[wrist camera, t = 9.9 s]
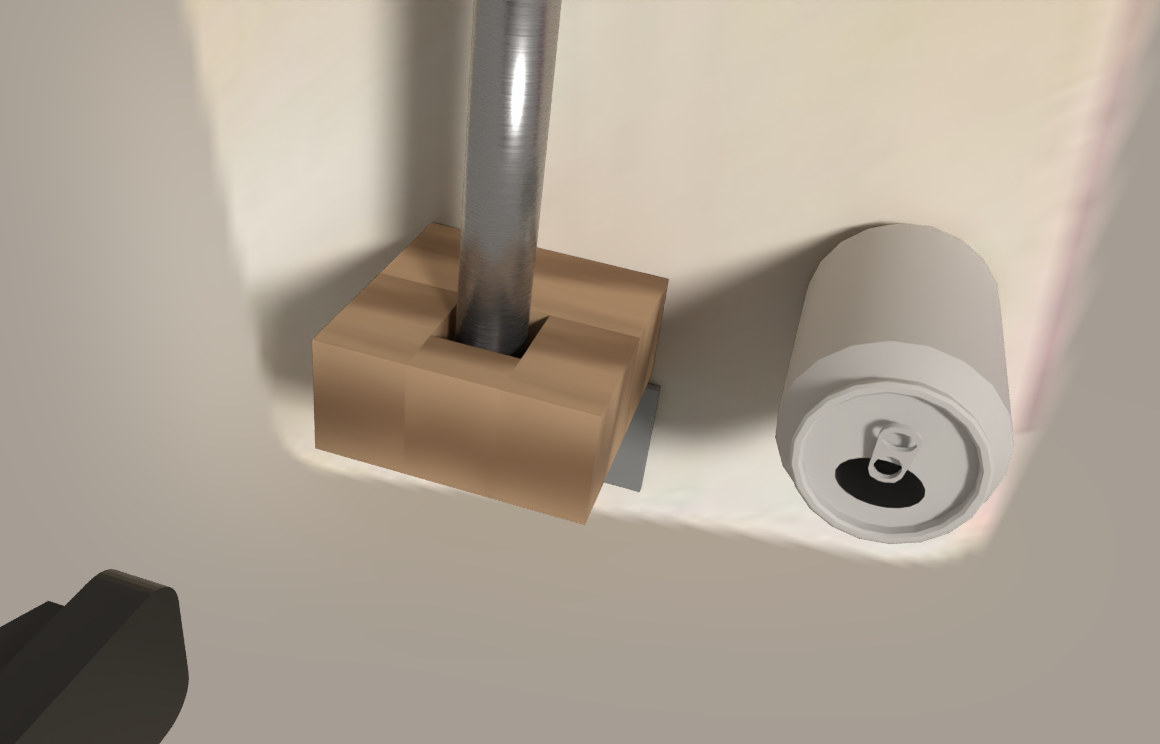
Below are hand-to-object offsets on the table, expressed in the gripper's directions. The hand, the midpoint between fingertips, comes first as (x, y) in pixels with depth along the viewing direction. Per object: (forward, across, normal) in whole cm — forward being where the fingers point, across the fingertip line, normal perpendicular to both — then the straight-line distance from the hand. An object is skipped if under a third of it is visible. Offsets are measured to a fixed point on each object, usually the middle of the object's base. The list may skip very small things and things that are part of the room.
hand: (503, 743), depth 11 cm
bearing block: (+33, +9, +14) cm, 37 cm away
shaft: (+28, +9, +5) cm, 30 cm away
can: (+33, -6, +10) cm, 35 cm away
